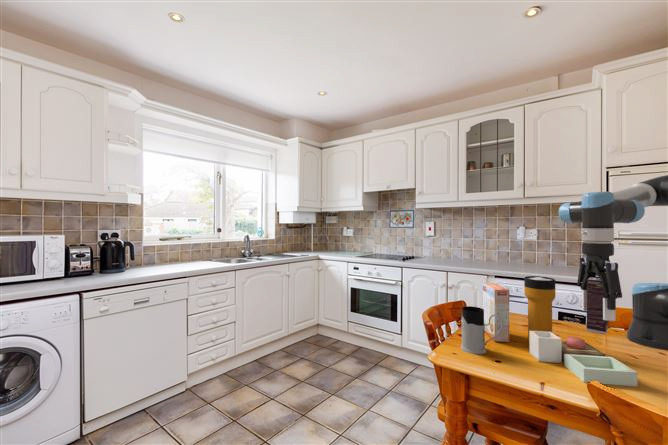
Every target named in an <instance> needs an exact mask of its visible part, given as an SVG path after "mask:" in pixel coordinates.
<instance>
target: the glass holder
mask: <svg viewBox="0 0 668 445" xmlns="http://www.w3.org/2000/svg"><path fill="white" fill-rule="evenodd" d="M492 316H499V315H496V314H494V315H491V316H490V318H489V324H490V319H491V317H492ZM499 317H500V316H499ZM500 318H501V317H500ZM501 321H502V318H501ZM489 324H484V310H483V308H481V307H477V306H471V305H470V306H469V305H466V306H463V307H461V345H460V349H461V350H462V351H463V352H466V353H469V354H473V355H484V354H485V353H487V350H486V345H487V343H489V342H491V341H493V339H494V338H495V337H497V336H498V335H499V333H500V332H501V330H502V326H503V321H502V324H501V328H500V331H499V332H498V334H497V335H495V336H494V337H493V338H491V337H490V338H489V339H488V340H486V339H485V338H486V334H485V333H486V332H485V326H488V325H489Z"/></svg>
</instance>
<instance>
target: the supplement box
mask: <svg viewBox="0 0 668 445" xmlns="http://www.w3.org/2000/svg"><path fill="white" fill-rule="evenodd" d="M605 282H606V281H605ZM603 296H605V294H604V291H603V287H602V281H601V280H600V279H599V276H596V277H590V278H589V279H587V311H586V328H585V329H586V332H589V333H593V334H597V335H598V334H599V335H604V336H607V332H608V329H609V324H610V321H609V320H603Z"/></svg>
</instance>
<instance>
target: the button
mask: <svg viewBox="0 0 668 445" xmlns="http://www.w3.org/2000/svg"><path fill="white" fill-rule="evenodd" d="M585 343H586V342H585V340H584V339H583V338H581V337H576V336H566V346H567V347H569V348H572V349H578V350H584V349H585Z"/></svg>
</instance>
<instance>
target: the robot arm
mask: <svg viewBox="0 0 668 445" xmlns="http://www.w3.org/2000/svg"><path fill="white" fill-rule="evenodd" d="M648 207H668V174H667V175H661V176H658V177H654V178H651V179H647V180H644V181H641V182H637V183H634V184H631V185H630V186H629V187H627V188H625V189H621V190H618V191H614V192H612V191H595V192H594V191H593V192H592V191H591V192H585V193H584V194H583V195H582V197H581V200H580V201H574V202H573V201H571V202H565V203H563V204H561V205H560V206H559V208H558V217H559V219H560V221H562V222H563V223H567V224H581V231H580V234H581V240H582V241H583V242H582V243H581V254H582V255H585V256H586V257H580V258H579V270H578V277H577V282H576V283H577V284H576V285H577V287H580V290H581V297H582V298H581V304H582V305H581V310H582V311H583V312H585V311H586V312H587V279H589V278H590V277H599V279H600V280H601V281H602V287H603V291H604V294H605V296H603V320H609V322H610V321H612V322H613V321H615V322H616V309H617V308H616V307H617V306H616V304H617V301H616V300H617V299H622V298H623V292H622V287H621V281H620V276H619V263H618V262H611V260H610V257H612V256H614V255H615V245H614V244H613V242H615V229H614V228H615V227H614V225H615V224H631V223H636V222H638V221H640V220H641V219H642V218H643V217H644V216H645V212H646V211H645V210H646V209H645V208H648ZM605 281H606V282H605ZM631 299H632V300H631V301H632V320H631V322H630V324H629V327H628V330H626V339H628V340H630V341H632V342H634V343H636V344H638V345H642V346H644V347H645V346H646V347H649V348H655V349H659V350H660V349H661V350H668V283H665V282H663V283H662V282H639V283H638V282H637V283H636V284H633V285H632V293H631Z"/></svg>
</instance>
